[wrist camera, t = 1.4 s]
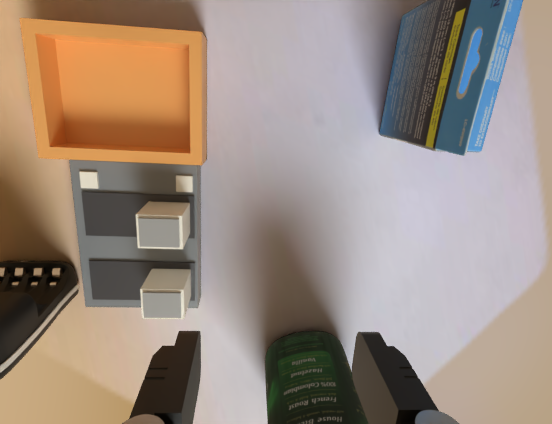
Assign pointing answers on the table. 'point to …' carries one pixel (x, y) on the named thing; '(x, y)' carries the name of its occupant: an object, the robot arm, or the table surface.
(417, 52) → the label tape box
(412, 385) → the robot arm
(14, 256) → the table surface
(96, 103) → the tray
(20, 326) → the battery charger
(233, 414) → the table surface
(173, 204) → the block
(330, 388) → the coffee jar
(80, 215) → the panel
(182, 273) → the breaker
